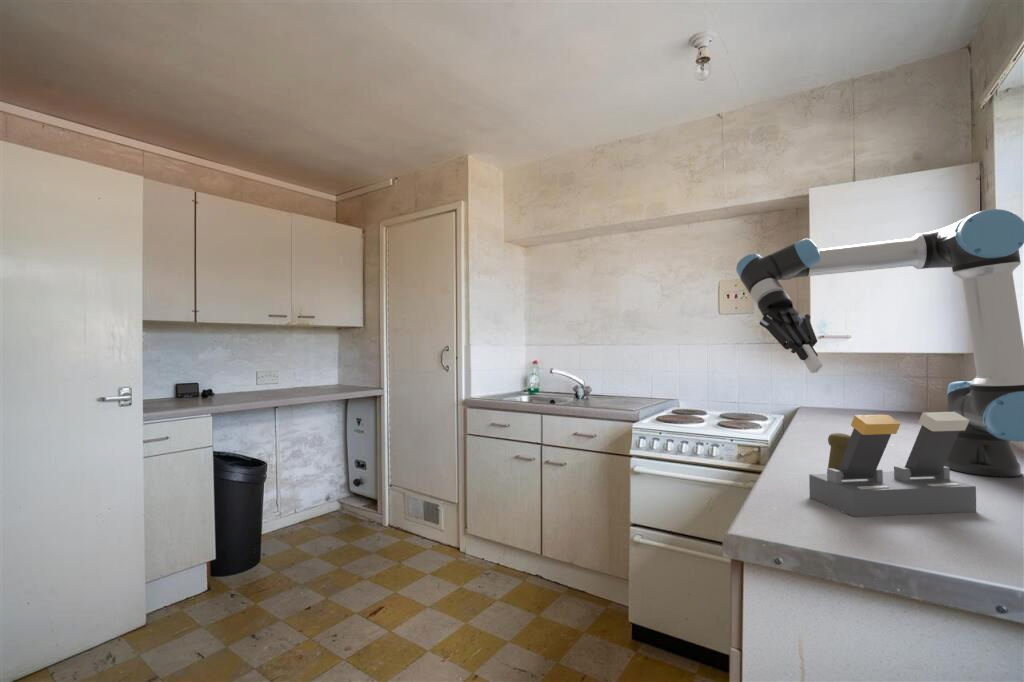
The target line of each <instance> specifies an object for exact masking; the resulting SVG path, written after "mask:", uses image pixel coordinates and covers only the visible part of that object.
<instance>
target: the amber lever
mask: <svg viewBox="0 0 1024 682" xmlns="http://www.w3.org/2000/svg"><path fill="white" fill-rule="evenodd" d="M850 426H851V427H852V428H853V430H852V433H851V435H850V436H851V437H850V440H849V442H848V445H847V447H846V450H845V452H844V455H843V458H842V460H841V463H840V465H839V468H838V470H839V471H841V475H842V480H856V479H873V478H874V474H875V471H876V469H877V468H878V466H879V464H880V462H881V459H882V457H883V456H884V455H883V454H884V452H885V450H886V448H887V445H888V443H889V441H890V438H891V436H892V435H896V434H897V433H898V431H899V428H900V427H901V423H900V422H899V421H897V420H896V419H895V418H893V417H892V416H890V415H889V414H888V413H887V414H854V416H853V418H852V421H851V423H850Z"/></svg>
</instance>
